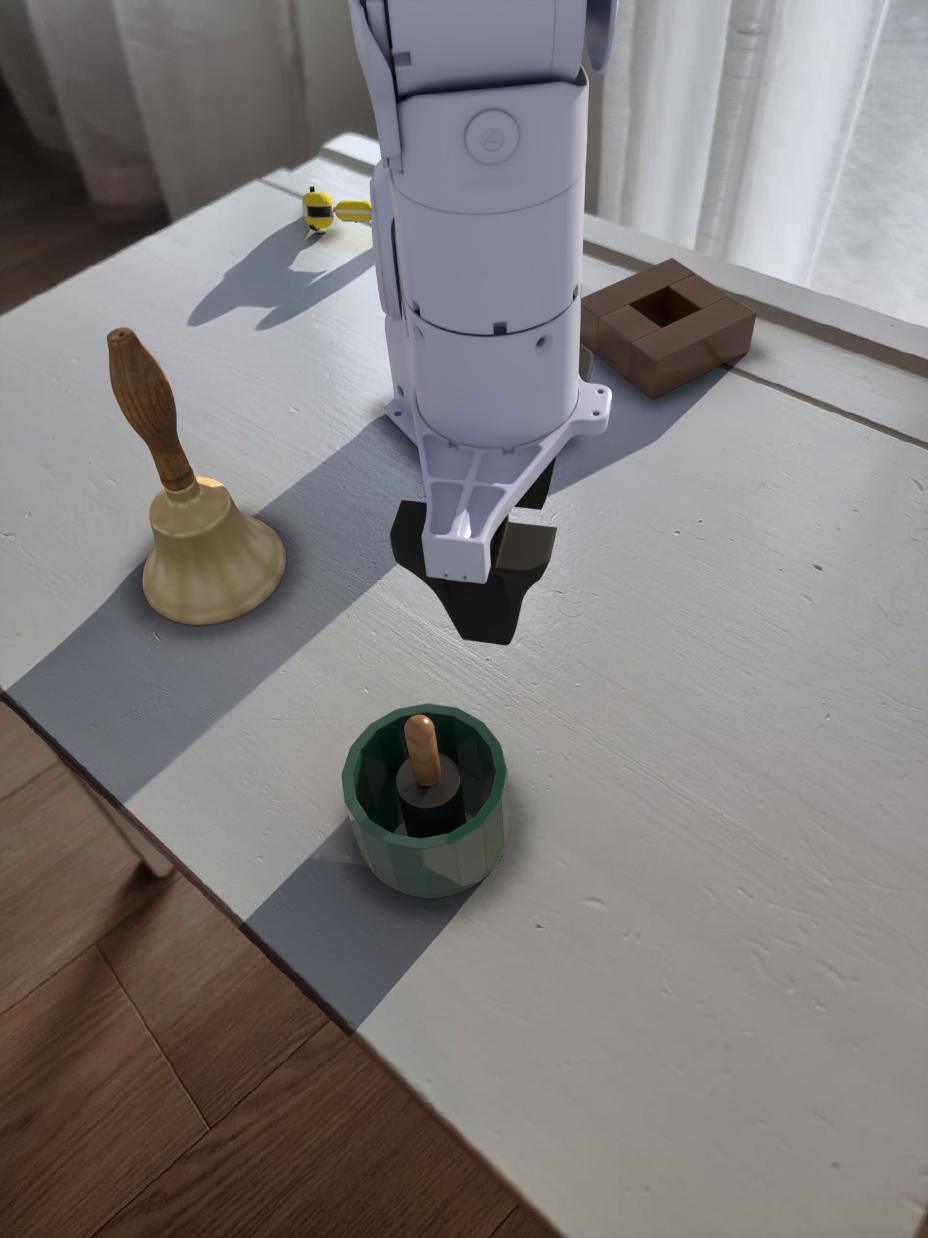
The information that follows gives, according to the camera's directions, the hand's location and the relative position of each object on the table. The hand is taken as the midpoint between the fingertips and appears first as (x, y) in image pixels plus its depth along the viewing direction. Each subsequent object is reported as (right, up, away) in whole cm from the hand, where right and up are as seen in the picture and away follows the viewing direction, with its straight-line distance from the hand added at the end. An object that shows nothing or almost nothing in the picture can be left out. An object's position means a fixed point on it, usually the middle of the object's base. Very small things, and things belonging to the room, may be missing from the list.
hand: (504, 565), depth 42 cm
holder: (+12, +16, +26) cm, 33 cm away
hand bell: (-16, 0, +15) cm, 22 cm away
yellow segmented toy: (-10, +29, +38) cm, 49 cm away
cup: (-3, -12, +4) cm, 13 cm away
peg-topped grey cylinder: (-3, -12, +3) cm, 13 cm away
